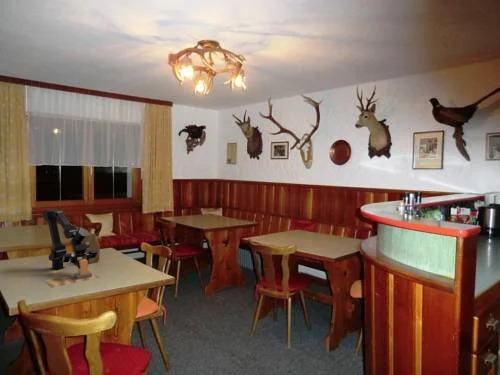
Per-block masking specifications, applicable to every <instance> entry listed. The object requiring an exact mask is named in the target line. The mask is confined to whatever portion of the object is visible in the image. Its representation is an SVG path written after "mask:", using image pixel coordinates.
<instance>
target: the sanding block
mask: <svg viewBox="0 0 500 375" xmlns="http://www.w3.org/2000/svg"><path fill="white" fill-rule="evenodd" d="M78 262H79V265H80V269H79V268H78V267H77V272H74V273H73V275H74V277H75V278H77V279H83V278H88V277H92V273H93V272H91V271H89V269H88V268H89V264H88V260H86V259H82V258H81V259H78Z"/></svg>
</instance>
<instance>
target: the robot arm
mask: <svg viewBox="0 0 500 375" xmlns="http://www.w3.org/2000/svg"><path fill="white" fill-rule="evenodd" d="M42 217H43V220H44V221H45V222H46V223H47V224H48V229H49V235H50V239H51V244H52V246H51V248H50V253H49V255H48V261H51V267H49V270H54V271H58V270H62V269H64V268H66V267H65V266H64V264H65V263H70V264H73V265H75V266H76V268H77V269H78V268H79V269H80V265H79V262H78V260H79V258H82V257H85V259H86V260H88V262H89V259H90V258H95V257H96V255H97V253H98V252H97V250H96V249H95V250H90V251H89V253H85V252H86V249H87V248H89V247H90V245H89V242H87V243H85V244H82V241H84V239H85V238H86V237H87V235H88V234H89V231H88V230H87V229H86V228H83V227H79V228H77V227H76V226H74V225H73V224H71V222H70V221H69V219H68V218H67V217H66V215H65V214H64V211H63V210H62V209H58V210H57V209H56V208H50V209H45V210H43V212H42ZM57 221H58V222H57ZM58 223H59V226H61V228H62V229H63V232H62V233H63V235H64V237H65V238H66V239H67V240H69V239H71V240H70V242H69V245H71V247H72V252H73V254H72V253H71V252H67V248H66V245H65V244H63V243H62V241H61V237H60V232H59V227H58Z"/></svg>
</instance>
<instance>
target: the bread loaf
mask: <svg viewBox="0 0 500 375" xmlns="http://www.w3.org/2000/svg"><path fill="white" fill-rule="evenodd" d="M96 235H97V234H96V233H94V232H92V233H88V235H87V237H86V238H85V239H84V241H82V244H85V243H87V242H89V245H90V247H89V248H87V249H86V252H85V253H89V251H90V250H95V249H96V250H97V252H98V253H97V255H96V257H95V258H90V259H89V262H88V265H89V264H93V263H98V262H99V261H100V256H101V252H100V251H101V250H100V249H101V248H100V242H99V241H98V238H97V236H96ZM81 259H85V257H81Z"/></svg>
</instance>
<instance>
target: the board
mask: <svg viewBox="0 0 500 375" xmlns="http://www.w3.org/2000/svg"><path fill="white" fill-rule="evenodd" d="M91 273H92V277H88V278H83V279H77V278H75V277H74V274H70V275H66V276H65V275H64V276H60V277H56V278H55V277H54V278H50V279H49V278H48V279H44V280H43V282H44V283H45V284H46V285H47V286H49V287H50V288H51V289H52V288H57V287H62V286H63V287H64V286H67V285H72V284H77V283H81V282H85V281H90V280H94V279H95V280H96V279H99V278H101V277H100V276H98V275H97V274H95V273H93V272H91Z"/></svg>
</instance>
